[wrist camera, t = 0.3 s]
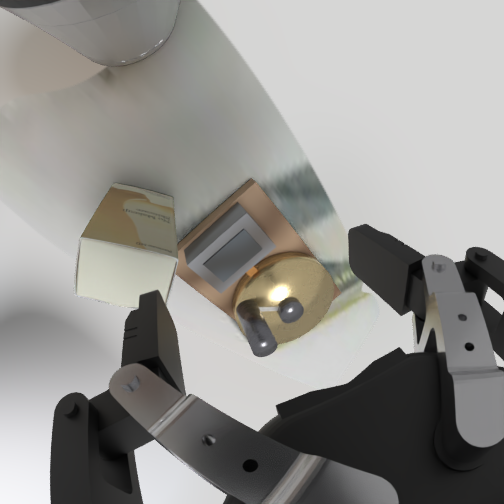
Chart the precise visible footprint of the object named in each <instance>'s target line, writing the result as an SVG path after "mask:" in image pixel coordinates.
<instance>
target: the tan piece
mask: <svg viewBox="0 0 504 504" xmlns="http://www.w3.org/2000/svg"><path fill="white" fill-rule="evenodd" d="M177 248H178V259H179V261H178V265H177V269H176V275H178V276H179V277H180V278H181V279H183V280H184V281H185V282H186V283H188V284H189V285H190V286H191V287H193V288H194V289H195V290H196V291H198V292H199V293H200V294H202V295H203V296H204V297H205V298H207V299H208V300H209V301H211V302H212V303H213V304H214V305H216V306H217V307H218V308H220V309H221V310H222V311H224V312H225V313H226V314H228V315H229V316H230V317H232V318H233V319H234V320H236V318H235V315H234V312H233V297H234V294H235V291H236V289H237V286H238V285H239V283H240V281H241V280H242V279H243V277H244V276H245V275H246V274H248V275H249V276H250V277H251V276H253V275H254V274H255V273H256V272H257V271H258V270H257V268H256V265H257V264H259V263H260V262H262V261H263V260H265V259H267V258H269V257H272V256H275V255H278V254H282V253H288V252H297V253H303V254H307V255H309V256H311V257H313V258H315V257H314V255H313V254H312V253H311V251H310V250H309V249H308V247H307V246H306V245H305V243H304V242H303V241H302V239H301V238H300V237H299V236H298V234H297V233H296V232H295V230H294V229H293V228H292V227H291V225H290V224H289V223H288V221H287V220H286V219H285V218H284V216H283V215H282V214H281V213H280V211H279V210H278V209H277V208H276V206H275V205H274V204H273V202H272V201H271V200H270V199H269V198H268V196H267V195H266V194H265V193H264V191H263V190H262V189H261V188H260V186H259V185H258V184H257V183H256V182H255V181H254V180H253V179H252V178H251V179H250V180H249V181H248V182H247V183H245V184H244V185H243V186H242V187H241V188H240V189H238V190H237V191H236V192H235V193H234V194H233V195H231V196H230V197H229V198H228V199H227V200H226V201H225V202H223V203H222V204H221V205H220V206H219V207H218V208H217V209H216V210H214V211H213V212H212V213H211V214H210V215H209V216H208V217H207V218H205V219H204V220H203V221H202V222H201V223H200V224H199V225H198V226H197V227H196V228H194V229H193V230H192V231H191V232H190V233H189V234H188V235H187V236H186V237H185V238H184V239H183V240H181V241H180V242H179V243H178V244H177ZM315 259H316V258H315ZM316 260H317V259H316ZM317 261H318V260H317ZM333 284H334V295H333V300H334V299H335V298H336V297H337V296H339V295H340V294H341V292H340V290H339V289H338V287H337V286H336V285H335V283H334V282H333ZM333 300H332V301H333ZM236 321H237V320H236Z"/></svg>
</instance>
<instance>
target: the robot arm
mask: <svg viewBox="0 0 504 504" xmlns="http://www.w3.org/2000/svg"><path fill="white" fill-rule="evenodd" d="M179 3H180V0H0V7H1V8H3V9H5V10H7V11H9V12H11V13H13V14H14V15H16V16H18V17H20V18H22V19H24V20H26V21H28V22H30V23H31V24H33V25H35V26H37V27H38V28H40V29H42V30H43V31H45V32H47V33H48V34H50V35H52V36H53V37H55V38H57V39H58V40H60V41H62V42H63V43H65V44H66V45H68V46H70V47H71V48H73V49H74V50H76V51H77V52H79V53H80V54H82V55H84V56H85V57H87V58H88V59H90V60H91V61H93V62H95V63H98V64H101V65H106V66H124V65H128V64H132V63H135V62H137V61H140V60H142V59H144V58H146V57H148V56H149V55H151V54H153V53H154V52H155V51H156V50H157V49H159V48H160V47H161V46H162V45H163V44H164V42H165V41H166V40H167V39H168V37H169V36H170V34H171V32H172V30H173V28H174V24H175V21H176V17H177V12H178V8H179ZM348 240H349V264H350V267H351V270H352V271H353V273H354V274H355V275H356V276H357V277H358V278H359V279H361V280H362V281H363V282H364V283H365V284H366V285H367V286H369V287H370V288H371V289H372V290H373V291H374V292H375V293H376V294H378V295H379V296H380V297H381V298H382V299H383V300H384V301H385V302H387V303H388V304H389V305H390V306H391V307H392V308H393V309H394V310H395V311H396V312H397V313H398V314H399V315H401V316H402V315H404V314H406V313H408V312H409V311H413V317H412V323H413V335H414V353H410V354H405V353H404V352H403V351H402V349H401V348H400V347H399V348H397V349H395V350H394V351H392V352H390V353H388V354H387V355H385V356H383V357H381V358H379V359H377V360H375V361H374V362H372V363H371V364H370V365H369V366H368V367H367V368H366V369H365V370H363V371H362V372H361V373H360V374H359V375H358V376H357V377H355V378H354V379H353V380H352V381H350V382H349V383H347V384H344V385H340V386H335V387H331V388H326V389H321V390H316V391H312V392H309V393H306V394H303V395H301V396H298V397H296V398H294V399H291V400H288V401H286V402H283V403H280V404H278V405H276V408H277V412H278V415H277V416H276V417H274V418H273V419H272V420H270V421H269V422H268V423H267V424H265V425H264V426H263V427H262V428H261V429H260V430H259V431H258V432H257V431H255V430H253V429H251V428H250V427H248V426H246V425H244V424H242V423H240V422H238V421H237V420H235V419H233V418H231V417H230V416H228V415H226V414H225V413H223V412H221V411H220V410H218V409H216V408H215V407H213V406H211V405H210V404H208V403H206V402H205V401H203V400H202V399H200V398H198V397H197V396H195V395H192V394H189V395H188V396H186V392H185V386H184V380H183V374H182V367H181V360H180V353H179V346H178V338H177V332H176V328H175V325H174V322H173V320H172V318H171V316H170V313H169V311H168V309H167V307H166V305H165V302H164V300H163V298H162V296H161V293H160V292H159V290H154V291H151V292H148V293H144V294H141V295H140V296H139V308H138V309H136V310H133V311H131V312H130V314H129V316H128V318H127V319H126V321H125V329H124V331H125V332H124V340H123V350H122V363H121V368H120V369H119V370H118V371H116V372H115V373H114V375H113V376H112V378H111V380H110V383H109V389H108V390H107V391H105V392H103V393H101V394H99V395H98V396H96V397H94V398H92V399H90V400H88V399H87V398H86V397H85V396H84V395H83V394H81V393H77V392H75V393H70V394H68V395H66V396H65V397H63V398H62V399H61V400H60V401H59V403H58V404H57V406H56V409H55V412H54V420H53V431H52V442H51V462H50V463H51V464H50V495H51V504H143V501H142V496H141V491H140V487H139V480H138V475H137V468H136V462H135V455H134V450H135V449H137V448H138V447H140V446H143V445H145V444H146V443H148V442H150V441H152V440H154V439H155V440H156V441H157V442H158V443H159V444H160V445H162V446H163V447H164V448H165V449H166V450H168V451H169V452H170V453H171V454H172V455H173V456H175V457H176V458H177V459H178V460H180V461H181V462H182V463H184V464H185V465H186V466H187V467H189V468H190V469H191V470H193V471H194V472H195V473H196V474H198V475H199V476H200V477H202V478H203V479H204V480H206V481H207V482H209V483H210V484H212V485H213V486H214V487H216V488H217V489H219V490H220V491H222V492H223V493H225V494H227V496H226V499H225V501H224V503H223V504H504V368H503V367H498V366H497V364H496V360H495V356H494V352H493V350H494V351H495V352H496V353H497V354H498V355H499V356H500V357H501V358H502V359H503V360H504V312H503V314H502V315H501V314H500V313H499V312H498V311H497V310H495V309H494V308H493V307H492V306H491V305H490V304H488V303H487V302H486V301H485V300H484V298H485V295H486V292H487V289H488V287H490V288H491V289H492V290H493V291H495V292H496V293H497V294H499V295H500V296H501V297H502V298H503V300H504V260H502V259H501V258H499V257H498V256H496V255H495V254H493V253H492V252H490V251H488V250H486V249H484V248H480V247H472V248H469V249H468V250H467V251H466V257H465V261H460V262H455V263H454V262H453V261H452V260H451V259H449V258H447V257H445V256H442V255H429V256H426V257H425V256H424V255H422V254H420V253H419V252H417V251H416V250H414V249H413V248H411V247H409V246H408V245H404V243H403V242H401V241H398V239H396V238H395V237H393V236H391V235H390V234H386V233H383V232H380V231H378V230H376V229H374V228H372V227H371V226H369V225H367V224H363V225H360V226H357V227H354V228H351V229H350V230H349V233H348Z"/></svg>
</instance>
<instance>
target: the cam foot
mask: <svg viewBox="0 0 504 504" xmlns="http://www.w3.org/2000/svg"><path fill="white" fill-rule="evenodd" d="M256 268H257V270H258V271H257V272H256V273H255V274H254V275H253V276H251V277H250V276H249V275H248V274H246V275H245V276H244V277H243V279H242V280H241V281H240V283H239V285H238V286H237V289H236V291H235V294H234V297H233V312H234V315H235V318H236V320H237V323H238V325H239V328H240V330H241V331H242V333H243V334H244V335H245V336H246V337H247V339H248V342H249V344H250V347H251V349H252V351H253V354H254V355H255V356H258V357H265V356H268V355H270V354H272V353H273V352H274V351H275V350H276V348H277V345H278V344H282V343H286V342H289V341H292V340H294V339H297V338H299V337H301V336H302V335H304V334H306V333H307V332H309V331H310V330H311V329H313V328H314V327H315V326H316V325H317V324H318V323H319V322H320V321H321V320H322V318H323V317H324V316H325V314H326V313H327V311H328V309H329V307H330V305H331V303H332V300H333V295H334V284H333V280H332V278H331V276H330V274H329V273H328V271H327V270H326V269H325V268H324V267H323V266H322V265H321V264H320V263H319V262H318V261H317V260H316V259H315V258H313V257H311V256H309V255H307V254H303V253H297V252H288V253H282V254H278V255H275V256H272V257H269V258H267V259H265V260H263V261H262V262H260V263H259V264H257V265H256Z"/></svg>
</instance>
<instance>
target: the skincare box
mask: <svg viewBox="0 0 504 504" xmlns="http://www.w3.org/2000/svg"><path fill="white" fill-rule="evenodd" d="M178 261H179V259H178V248H177V236H176V225H175V214H174V201H173V197H171V196H167V195H164V194H161V193H157V192H153V191H150V190H146V189H142V188H137V187H133V186H128V185H123V184H118V183H114V184H113V185H112V186H111V188H110V190H109V191H108V193H107V194H106V196H105V197H104V199H103V200H102V202H101V203H100V205H99V207H98V208H97V210H96V212H95V213H94V215H93V216H92V218H91V220H90V222H89V223H88V225H87V227H86V228H85V230H84V232H83V234H82V235H81V237H80V240H79V247H78V253H77V260H76V270H75V281H74V294H75V295H76V296H77V297H82V298H86V299H91V300H95V301H99V302H105V303H108V304H112V305H116V306H121V307H128V308H135V309H138V308H139V296H140V295H141V294H144V293H148V292H151V291H154V290H159V292H160V293H161V296H162V298H163V300H164V302H165V305H167V302H168V299H169V295H170V292H171V288H172V285H173V281H174V277H175V274H176V269H177V265H178Z"/></svg>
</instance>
